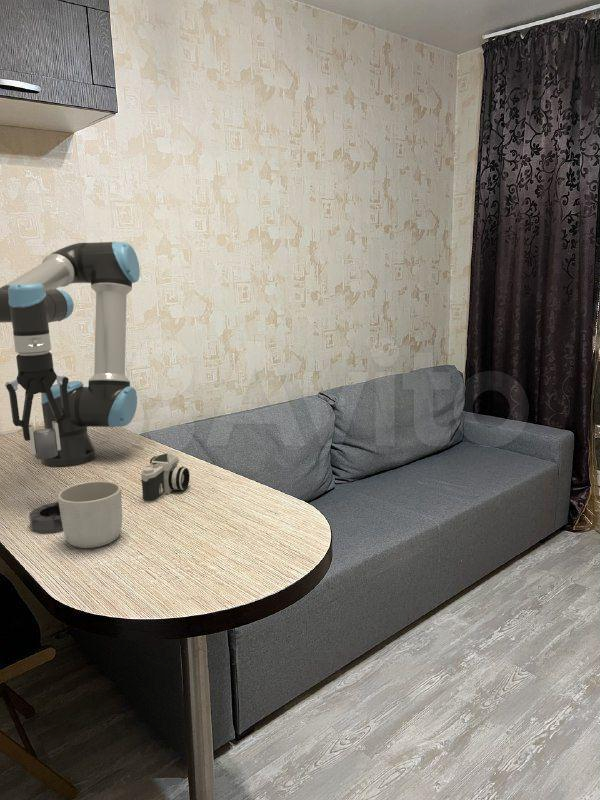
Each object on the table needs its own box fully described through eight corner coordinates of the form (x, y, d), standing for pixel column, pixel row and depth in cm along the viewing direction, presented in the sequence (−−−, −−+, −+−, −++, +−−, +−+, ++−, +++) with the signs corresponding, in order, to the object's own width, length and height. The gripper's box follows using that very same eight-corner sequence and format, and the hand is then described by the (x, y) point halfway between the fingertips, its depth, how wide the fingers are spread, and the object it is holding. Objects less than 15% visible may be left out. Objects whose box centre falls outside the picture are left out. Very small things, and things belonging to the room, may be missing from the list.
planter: (76, 527, 137) (71, 480, 134) (132, 527, 136) (128, 480, 134) (53, 553, 124) (47, 502, 122) (114, 553, 124) (109, 502, 122)
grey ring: (27, 520, 141) (26, 508, 140) (75, 510, 146) (74, 498, 145) (35, 537, 132) (34, 524, 131) (86, 525, 137) (85, 513, 137)
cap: (33, 455, 147) (30, 430, 145) (55, 451, 149) (52, 426, 148) (37, 460, 143) (33, 434, 141) (59, 456, 145) (56, 431, 144)
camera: (170, 505, 148) (167, 465, 146) (137, 503, 150) (134, 463, 148) (196, 482, 163) (193, 446, 161) (165, 480, 165) (163, 444, 163)
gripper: (-8, 359, 133) (6, 462, 138) (78, 350, 142) (88, 448, 147) (-12, 354, 139) (2, 453, 144) (71, 347, 148) (80, 440, 153)
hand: (45, 450), depth 146 cm, fingers closed on cap, 5 cm apart
